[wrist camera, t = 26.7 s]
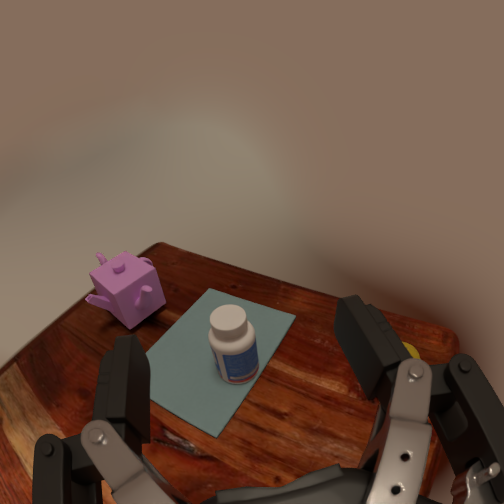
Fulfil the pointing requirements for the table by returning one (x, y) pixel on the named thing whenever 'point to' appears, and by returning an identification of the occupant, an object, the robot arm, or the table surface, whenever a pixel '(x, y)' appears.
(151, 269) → the teapot
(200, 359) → the cloth mat
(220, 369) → the pill bottle
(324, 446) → the table surface
